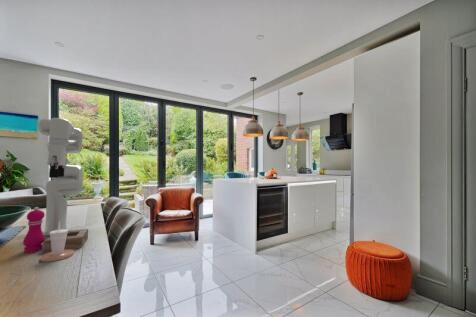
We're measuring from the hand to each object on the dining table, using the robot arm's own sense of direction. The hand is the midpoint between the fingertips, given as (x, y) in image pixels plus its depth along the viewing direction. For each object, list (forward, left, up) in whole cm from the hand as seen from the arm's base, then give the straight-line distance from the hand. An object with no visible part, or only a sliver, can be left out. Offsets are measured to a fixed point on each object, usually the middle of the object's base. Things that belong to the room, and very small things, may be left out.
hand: (56, 177), depth 103 cm
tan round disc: (+16, +6, -34) cm, 38 cm away
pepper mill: (+2, -6, -34) cm, 35 cm away
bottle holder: (0, +6, -34) cm, 34 cm away
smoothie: (+16, +6, -33) cm, 37 cm away
